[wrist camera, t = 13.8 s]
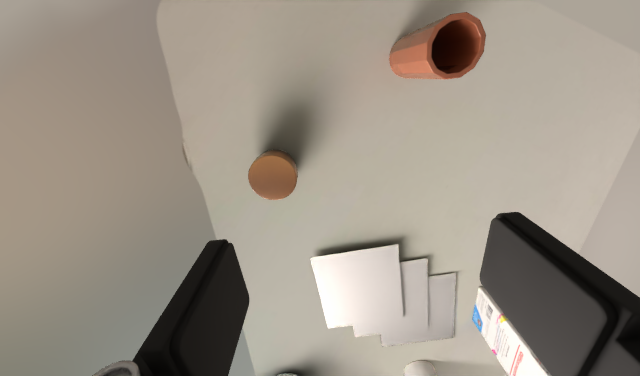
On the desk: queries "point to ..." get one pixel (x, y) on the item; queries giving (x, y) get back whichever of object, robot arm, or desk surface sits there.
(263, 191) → the oak chip
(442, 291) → the paper stack
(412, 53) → the terracotta cup
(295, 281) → the desk surface
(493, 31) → the desk surface
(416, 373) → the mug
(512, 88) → the desk surface
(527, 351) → the ink box
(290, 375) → the mug
